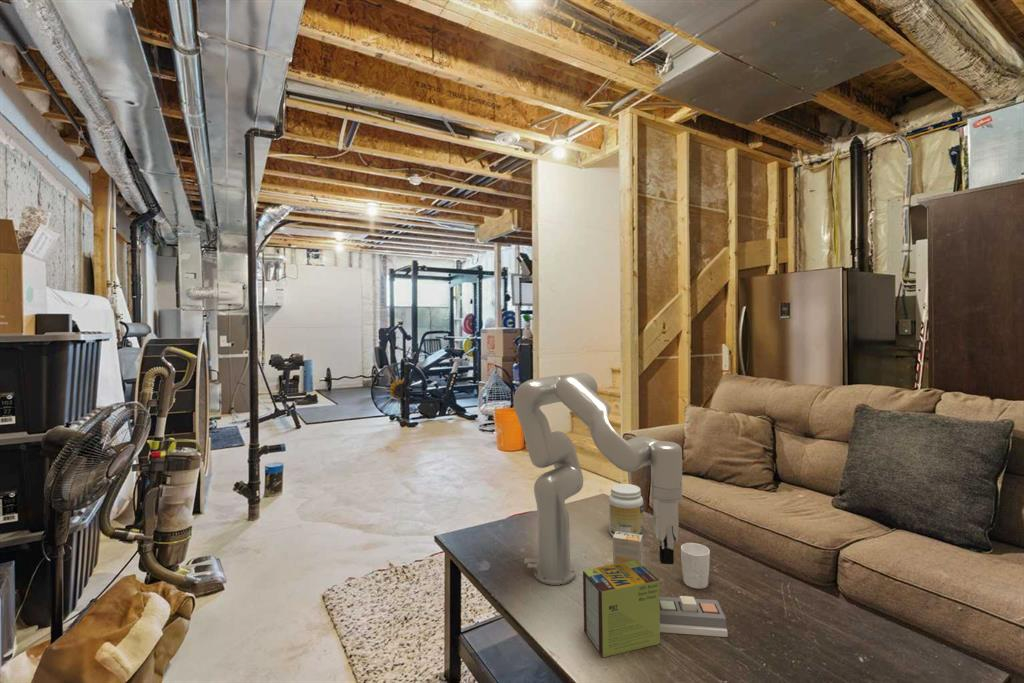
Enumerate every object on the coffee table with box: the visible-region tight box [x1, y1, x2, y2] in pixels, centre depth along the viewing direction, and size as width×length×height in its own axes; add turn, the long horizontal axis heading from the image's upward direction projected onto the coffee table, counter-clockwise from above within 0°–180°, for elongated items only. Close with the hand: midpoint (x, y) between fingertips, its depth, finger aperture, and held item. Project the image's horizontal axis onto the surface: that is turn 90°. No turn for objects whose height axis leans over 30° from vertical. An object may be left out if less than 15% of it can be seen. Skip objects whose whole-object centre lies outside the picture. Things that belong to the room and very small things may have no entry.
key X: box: [679, 595, 697, 612], centre depth 119 cm, size 3×3×2 cm
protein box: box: [582, 560, 661, 658], centre depth 114 cm, size 10×15×16 cm
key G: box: [700, 603, 718, 614], centre depth 119 cm, size 3×3×2 cm
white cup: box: [680, 542, 711, 590], centre depth 137 cm, size 8×8×10 cm
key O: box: [660, 601, 676, 611], centre depth 120 cm, size 3×3×2 cm
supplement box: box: [612, 531, 644, 566], centre depth 140 cm, size 8×5×13 cm, turn 65°
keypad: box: [659, 596, 729, 638], centre depth 120 cm, size 16×10×4 cm, turn 81°
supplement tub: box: [608, 483, 645, 537], centre depth 169 cm, size 12×12×17 cm
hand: (666, 562), depth 120 cm, fingers closed
